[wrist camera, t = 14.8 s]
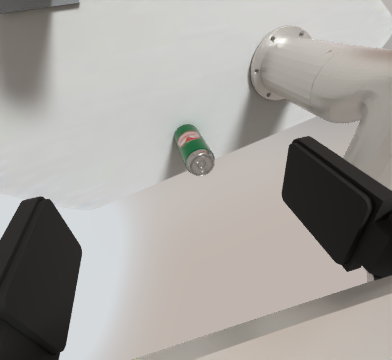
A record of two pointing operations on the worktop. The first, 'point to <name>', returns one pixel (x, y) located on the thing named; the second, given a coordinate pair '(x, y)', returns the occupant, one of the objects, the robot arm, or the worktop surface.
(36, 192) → the worktop surface
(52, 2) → the mat
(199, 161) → the soda can
